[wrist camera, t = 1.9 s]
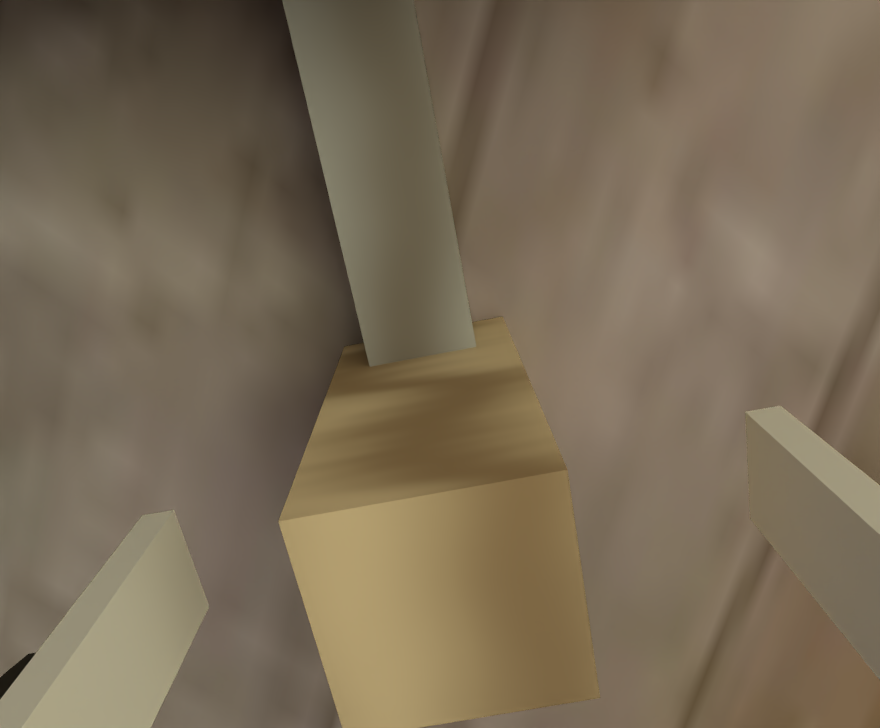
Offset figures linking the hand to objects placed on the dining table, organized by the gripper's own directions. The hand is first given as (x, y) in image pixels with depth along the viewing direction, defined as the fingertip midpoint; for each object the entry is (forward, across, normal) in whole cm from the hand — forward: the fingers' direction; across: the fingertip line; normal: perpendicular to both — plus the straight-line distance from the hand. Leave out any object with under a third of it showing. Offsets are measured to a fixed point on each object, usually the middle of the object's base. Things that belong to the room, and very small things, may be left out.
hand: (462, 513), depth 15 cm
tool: (+7, -1, +9) cm, 11 cm away
